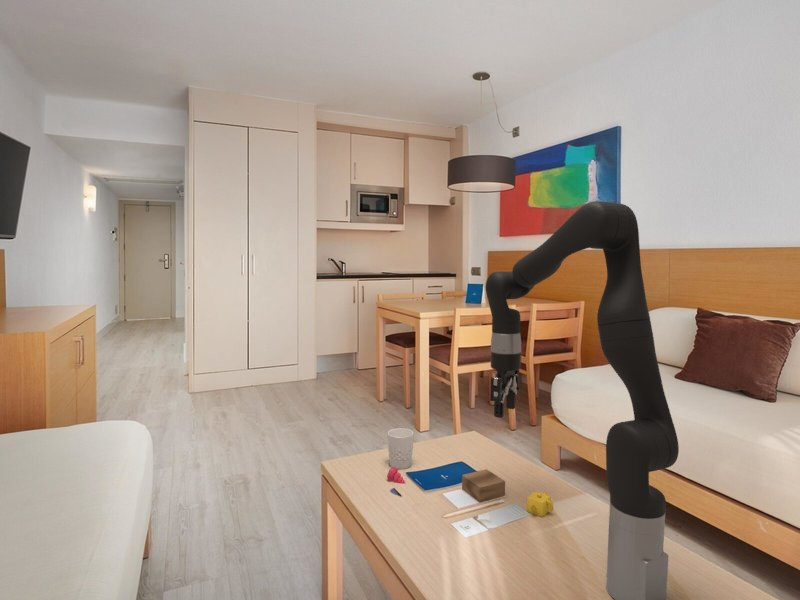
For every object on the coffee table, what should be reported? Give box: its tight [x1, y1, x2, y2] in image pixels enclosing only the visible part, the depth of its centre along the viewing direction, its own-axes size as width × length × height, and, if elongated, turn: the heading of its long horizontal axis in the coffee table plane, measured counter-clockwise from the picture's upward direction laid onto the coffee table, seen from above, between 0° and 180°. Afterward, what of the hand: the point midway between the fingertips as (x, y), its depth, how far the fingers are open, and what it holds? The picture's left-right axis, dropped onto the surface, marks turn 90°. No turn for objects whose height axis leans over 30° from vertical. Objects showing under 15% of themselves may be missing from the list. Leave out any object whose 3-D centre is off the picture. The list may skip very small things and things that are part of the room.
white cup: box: [387, 427, 415, 470], centre depth 147 cm, size 8×8×10 cm
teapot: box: [526, 491, 554, 518], centre depth 118 cm, size 8×6×5 cm
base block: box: [461, 469, 506, 504], centre depth 128 cm, size 8×8×4 cm
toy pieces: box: [386, 467, 407, 497], centre depth 133 cm, size 12×11×4 cm
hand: (505, 412), depth 124 cm, fingers open, 8 cm apart
